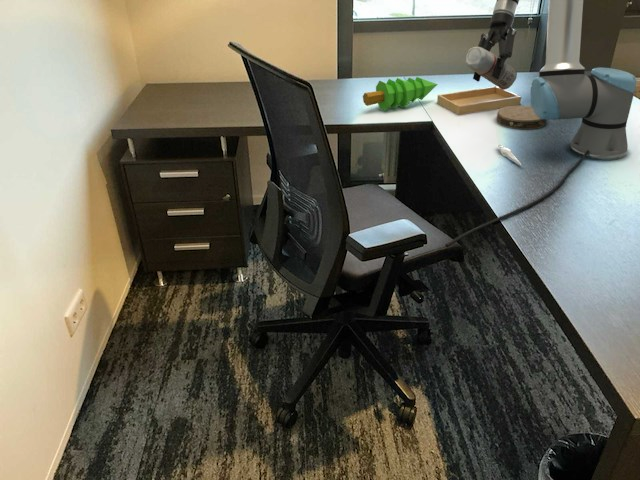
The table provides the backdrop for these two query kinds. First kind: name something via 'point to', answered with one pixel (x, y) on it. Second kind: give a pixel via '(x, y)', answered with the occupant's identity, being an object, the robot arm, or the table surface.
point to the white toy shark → (508, 154)
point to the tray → (478, 100)
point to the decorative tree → (398, 92)
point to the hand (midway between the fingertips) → (485, 78)
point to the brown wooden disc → (519, 117)
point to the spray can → (490, 67)
